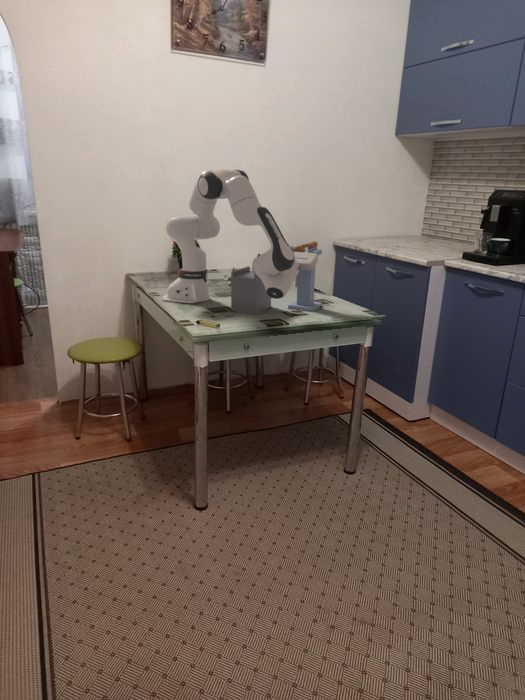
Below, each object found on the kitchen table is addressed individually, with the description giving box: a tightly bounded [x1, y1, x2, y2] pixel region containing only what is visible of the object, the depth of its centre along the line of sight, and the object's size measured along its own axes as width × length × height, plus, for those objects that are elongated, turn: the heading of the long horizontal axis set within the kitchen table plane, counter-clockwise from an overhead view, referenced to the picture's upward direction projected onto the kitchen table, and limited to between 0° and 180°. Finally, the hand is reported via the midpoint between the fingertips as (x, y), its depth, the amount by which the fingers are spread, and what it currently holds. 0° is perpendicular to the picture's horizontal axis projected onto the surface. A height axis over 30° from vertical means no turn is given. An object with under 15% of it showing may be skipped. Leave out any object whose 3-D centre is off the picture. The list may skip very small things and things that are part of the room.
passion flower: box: [224, 267, 238, 286], centre depth 274 cm, size 11×11×12 cm
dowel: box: [294, 240, 318, 252], centre depth 220 cm, size 22×3×3 cm, turn 155°
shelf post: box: [287, 246, 323, 312], centre depth 227 cm, size 12×12×27 cm
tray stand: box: [230, 265, 272, 315], centre depth 224 cm, size 16×12×18 cm
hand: (299, 248), depth 214 cm, fingers open, 5 cm apart
